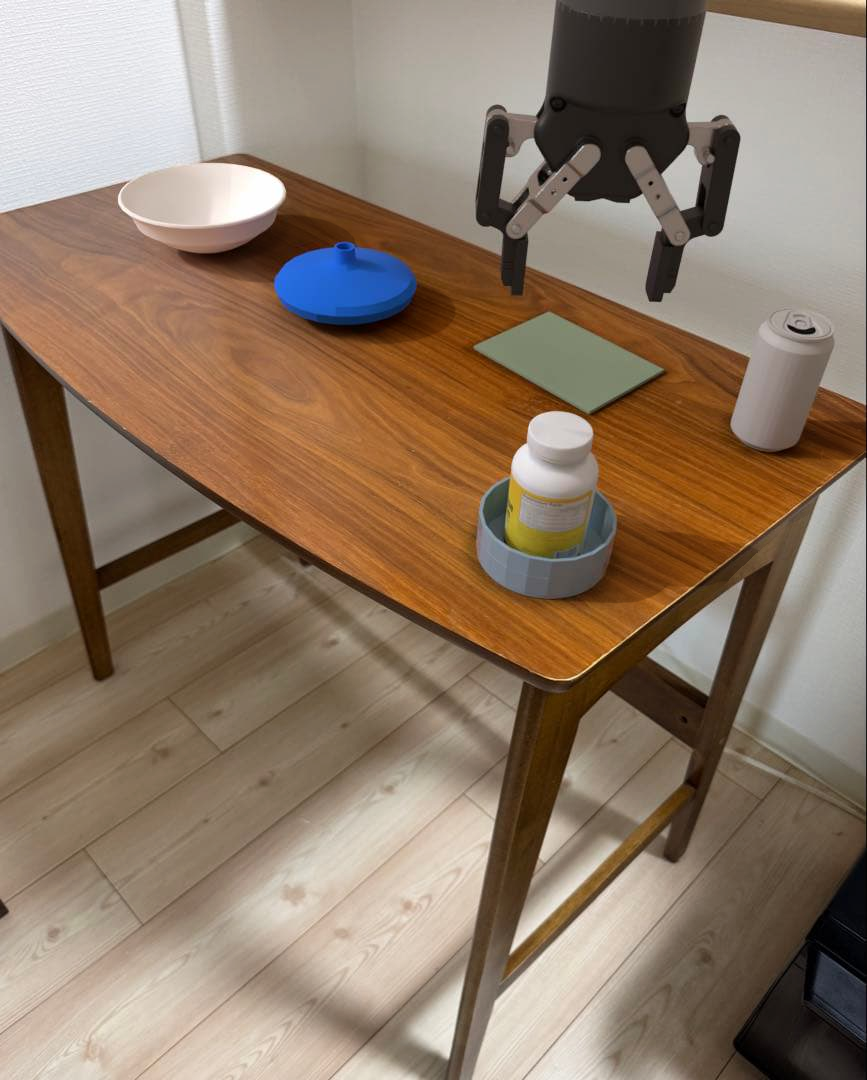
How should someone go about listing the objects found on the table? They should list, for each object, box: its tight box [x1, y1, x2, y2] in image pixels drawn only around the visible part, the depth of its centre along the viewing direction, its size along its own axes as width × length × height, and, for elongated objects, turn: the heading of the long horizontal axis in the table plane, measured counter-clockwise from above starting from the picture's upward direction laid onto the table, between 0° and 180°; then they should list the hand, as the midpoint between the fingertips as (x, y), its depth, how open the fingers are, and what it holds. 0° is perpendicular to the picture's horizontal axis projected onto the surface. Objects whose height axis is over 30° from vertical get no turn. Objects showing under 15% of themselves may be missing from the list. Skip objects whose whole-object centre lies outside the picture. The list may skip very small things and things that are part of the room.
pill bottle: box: [504, 410, 600, 559], centre depth 68 cm, size 6×6×12 cm
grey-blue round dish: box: [475, 476, 618, 600], centre depth 71 cm, size 11×11×4 cm
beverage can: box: [730, 307, 836, 453], centre depth 82 cm, size 6×6×12 cm
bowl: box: [117, 162, 287, 254], centre depth 111 cm, size 20×20×6 cm
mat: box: [473, 310, 665, 415], centre depth 94 cm, size 16×12×1 cm
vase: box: [273, 241, 418, 326], centre depth 99 cm, size 16×16×7 cm
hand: (584, 293), depth 56 cm, fingers open, 8 cm apart
